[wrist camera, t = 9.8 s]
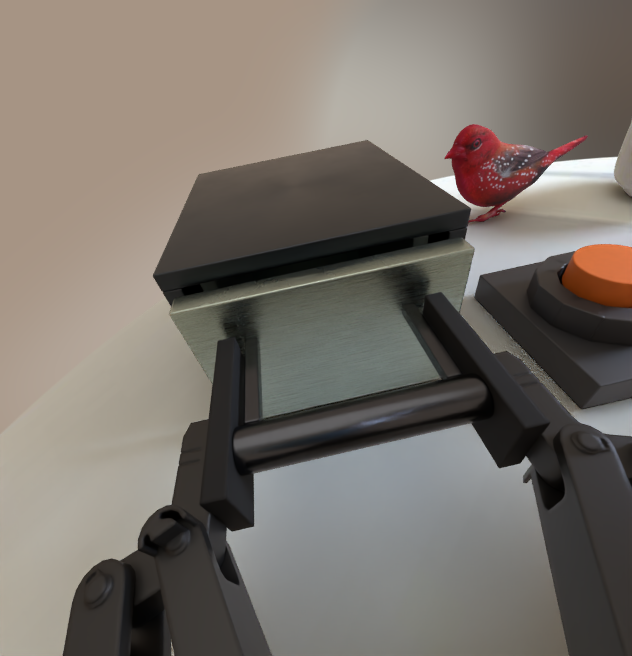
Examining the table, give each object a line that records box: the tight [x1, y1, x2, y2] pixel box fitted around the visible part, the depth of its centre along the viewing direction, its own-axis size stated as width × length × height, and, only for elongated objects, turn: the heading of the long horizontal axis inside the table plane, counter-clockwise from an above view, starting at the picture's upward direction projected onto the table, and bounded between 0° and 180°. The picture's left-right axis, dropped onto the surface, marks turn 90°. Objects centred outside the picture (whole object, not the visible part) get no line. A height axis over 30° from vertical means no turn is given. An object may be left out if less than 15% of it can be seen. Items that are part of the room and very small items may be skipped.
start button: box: [562, 244, 632, 308], centre depth 18 cm, size 4×4×2 cm
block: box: [475, 251, 632, 409], centre depth 20 cm, size 11×9×4 cm
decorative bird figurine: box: [445, 124, 588, 222], centre depth 31 cm, size 3×18×10 cm, turn 109°
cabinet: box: [153, 140, 471, 307], centre depth 23 cm, size 16×14×11 cm
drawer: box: [169, 235, 494, 476], centre depth 19 cm, size 21×13×9 cm, turn 10°
